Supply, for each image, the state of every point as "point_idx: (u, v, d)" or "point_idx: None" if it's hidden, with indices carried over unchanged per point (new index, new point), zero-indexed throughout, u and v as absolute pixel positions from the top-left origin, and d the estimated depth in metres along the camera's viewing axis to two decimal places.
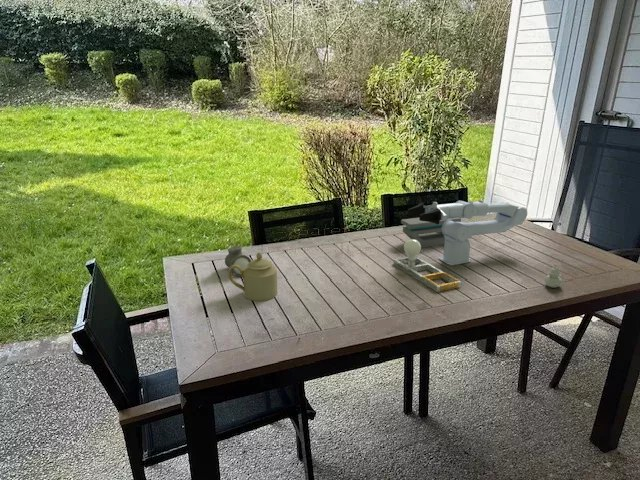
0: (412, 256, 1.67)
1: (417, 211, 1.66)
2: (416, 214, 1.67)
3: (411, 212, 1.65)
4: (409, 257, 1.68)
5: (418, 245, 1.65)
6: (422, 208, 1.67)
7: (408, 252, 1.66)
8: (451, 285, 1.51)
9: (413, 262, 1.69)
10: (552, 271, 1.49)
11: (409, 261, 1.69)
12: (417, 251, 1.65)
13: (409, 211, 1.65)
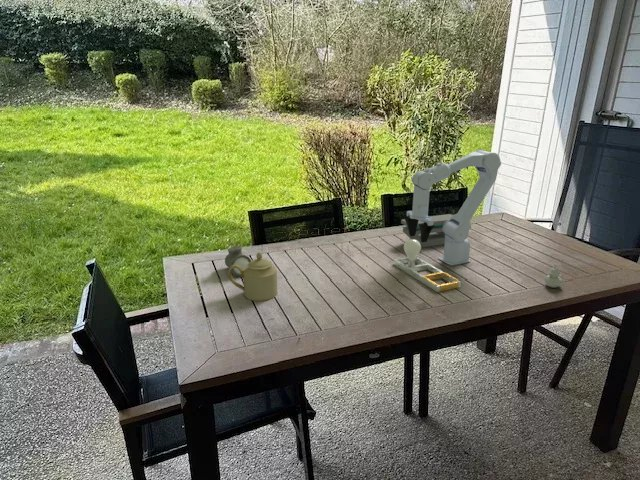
0: (412, 256, 1.67)
1: (412, 226, 1.71)
2: (415, 226, 1.72)
3: (413, 232, 1.72)
4: (409, 257, 1.68)
5: (418, 245, 1.65)
6: (411, 221, 1.70)
7: (408, 252, 1.66)
8: (451, 285, 1.51)
9: (413, 262, 1.69)
10: (552, 271, 1.49)
11: (409, 261, 1.69)
12: (417, 251, 1.65)
13: (412, 235, 1.72)
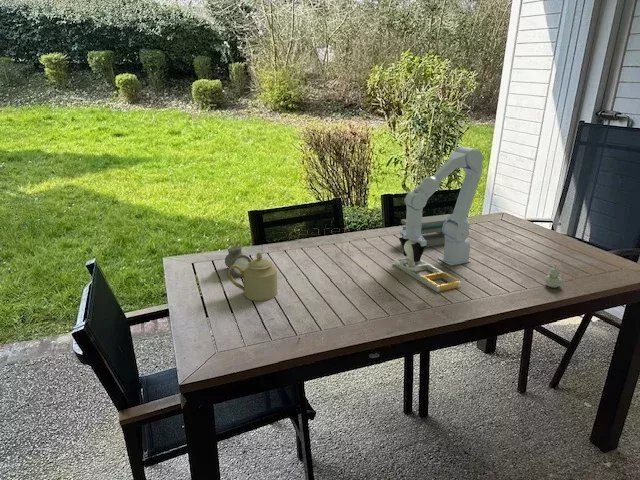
0: (412, 256, 1.67)
1: None
2: None
3: None
4: (409, 257, 1.68)
5: None
6: (405, 241, 1.70)
7: (408, 252, 1.66)
8: (451, 285, 1.51)
9: (413, 262, 1.69)
10: (552, 271, 1.49)
11: (409, 261, 1.69)
12: None
13: (406, 254, 1.72)
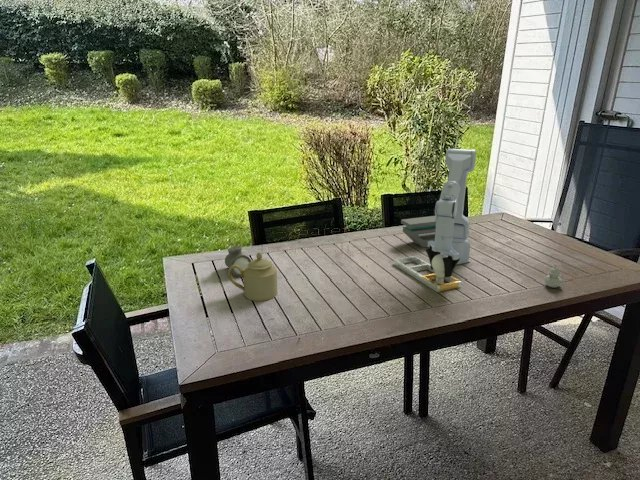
0: (441, 273, 1.52)
1: None
2: None
3: None
4: (437, 274, 1.52)
5: None
6: (433, 253, 1.54)
7: (436, 268, 1.51)
8: (451, 285, 1.51)
9: (442, 279, 1.53)
10: (552, 271, 1.49)
11: (437, 278, 1.53)
12: None
13: None
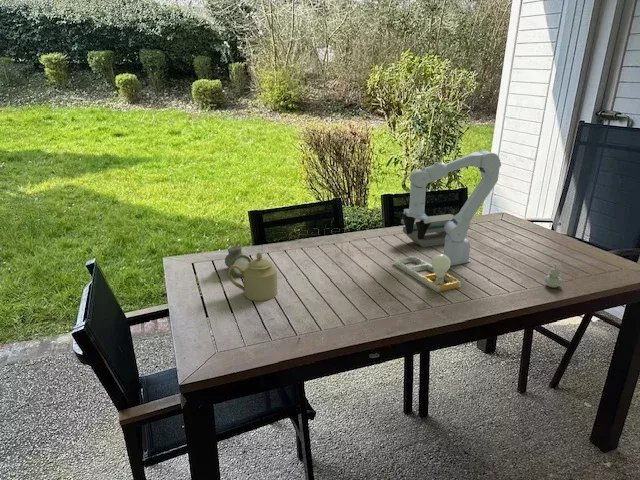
0: (441, 273, 1.52)
1: (409, 224, 1.74)
2: (412, 224, 1.75)
3: (410, 230, 1.75)
4: (437, 274, 1.52)
5: (448, 261, 1.50)
6: (408, 219, 1.73)
7: (437, 268, 1.51)
8: (451, 285, 1.51)
9: (442, 279, 1.53)
10: (552, 271, 1.49)
11: (437, 278, 1.53)
12: (447, 267, 1.50)
13: (409, 232, 1.75)
